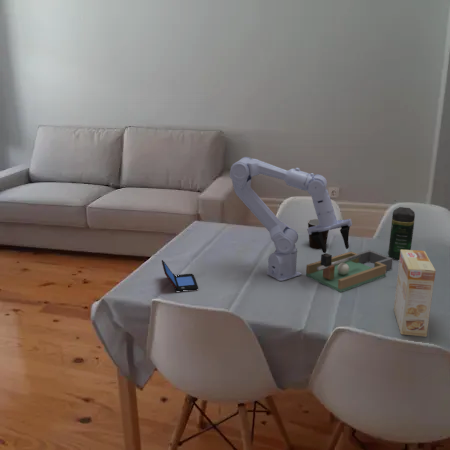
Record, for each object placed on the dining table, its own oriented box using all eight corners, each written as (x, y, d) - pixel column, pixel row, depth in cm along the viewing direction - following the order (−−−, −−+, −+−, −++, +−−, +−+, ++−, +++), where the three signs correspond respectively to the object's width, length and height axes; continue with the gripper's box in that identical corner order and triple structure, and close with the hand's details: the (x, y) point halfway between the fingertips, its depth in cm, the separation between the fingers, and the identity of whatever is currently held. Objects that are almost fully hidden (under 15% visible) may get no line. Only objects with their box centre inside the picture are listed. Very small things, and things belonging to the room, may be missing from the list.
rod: (320, 282, 169) (322, 258, 166) (314, 279, 171) (315, 255, 169) (362, 269, 180) (364, 246, 177) (355, 266, 182) (357, 243, 179)
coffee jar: (409, 262, 189) (415, 213, 183) (387, 259, 192) (392, 211, 186) (410, 253, 198) (416, 206, 192) (389, 250, 200) (393, 204, 194)
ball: (343, 277, 174) (343, 266, 173) (334, 273, 177) (335, 262, 176) (351, 274, 176) (352, 263, 175) (342, 270, 179) (343, 260, 178)
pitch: (340, 292, 166) (341, 280, 164) (306, 275, 178) (306, 264, 177) (398, 271, 181) (399, 260, 180) (362, 257, 194) (363, 247, 192)
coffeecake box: (427, 337, 139) (436, 270, 133) (400, 335, 140) (407, 269, 134) (417, 311, 153) (425, 250, 147) (393, 309, 154) (399, 248, 148)
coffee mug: (322, 251, 200) (323, 227, 196) (302, 246, 204) (303, 223, 201) (335, 243, 208) (337, 219, 205) (316, 238, 213) (317, 215, 210)
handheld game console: (199, 291, 167) (198, 270, 165) (165, 294, 165) (164, 273, 163) (193, 276, 179) (192, 256, 177) (162, 278, 177) (161, 258, 175)
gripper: (301, 219, 168) (312, 258, 171) (344, 210, 162) (356, 250, 164) (306, 213, 174) (317, 250, 177) (348, 204, 168) (359, 242, 170)
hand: (336, 249), depth 171 cm, fingers open, 7 cm apart
